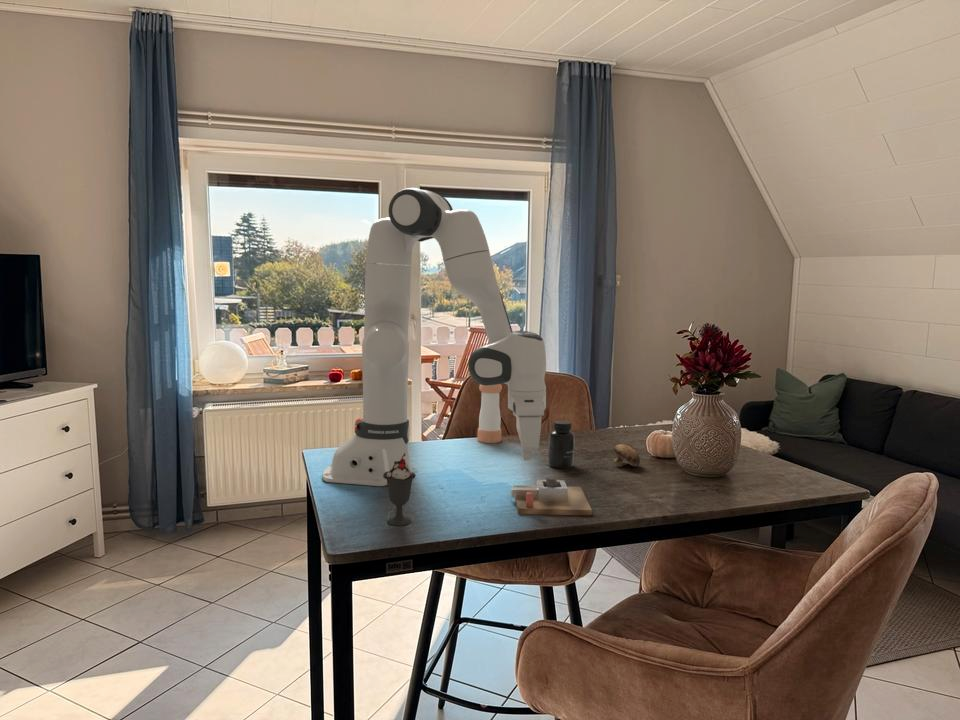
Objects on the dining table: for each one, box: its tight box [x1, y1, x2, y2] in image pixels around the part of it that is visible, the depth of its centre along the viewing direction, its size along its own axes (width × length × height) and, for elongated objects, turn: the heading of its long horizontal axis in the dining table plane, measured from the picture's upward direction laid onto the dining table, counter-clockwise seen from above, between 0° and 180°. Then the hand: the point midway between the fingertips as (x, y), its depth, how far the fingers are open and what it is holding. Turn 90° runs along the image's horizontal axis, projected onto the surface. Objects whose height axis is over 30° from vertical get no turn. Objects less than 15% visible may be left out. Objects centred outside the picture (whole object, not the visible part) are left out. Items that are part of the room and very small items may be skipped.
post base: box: [513, 476, 593, 516], centre depth 159 cm, size 16×16×6 cm
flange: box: [510, 479, 568, 502], centre depth 159 cm, size 12×6×3 cm, turn 91°
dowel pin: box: [526, 492, 534, 508], centre depth 152 cm, size 2×2×3 cm
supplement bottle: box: [547, 420, 576, 469], centre depth 188 cm, size 7×7×12 cm
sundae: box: [383, 453, 417, 527], centre depth 144 cm, size 7×7×15 cm
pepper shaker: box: [477, 384, 503, 444], centre depth 213 cm, size 7×7×19 cm
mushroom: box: [613, 443, 641, 468], centre depth 190 cm, size 8×8×6 cm
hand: (526, 458), depth 164 cm, fingers closed
